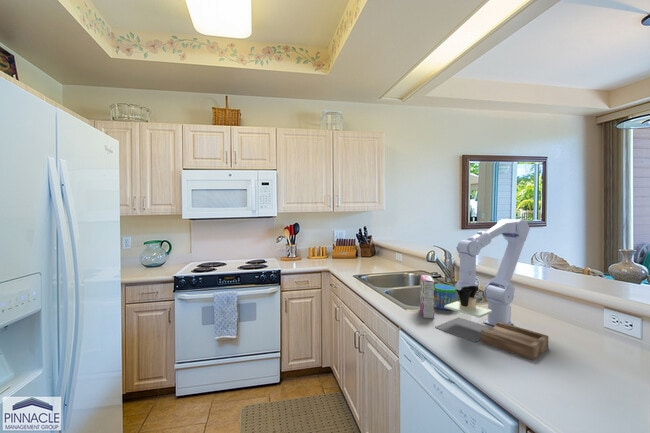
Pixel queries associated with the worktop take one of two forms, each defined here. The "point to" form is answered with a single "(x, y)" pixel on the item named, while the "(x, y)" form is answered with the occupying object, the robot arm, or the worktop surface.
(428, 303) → the candy bar box
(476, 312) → the cover plate
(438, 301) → the snack cup
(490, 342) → the walnut box
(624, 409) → the worktop surface
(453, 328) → the charcoal mat
